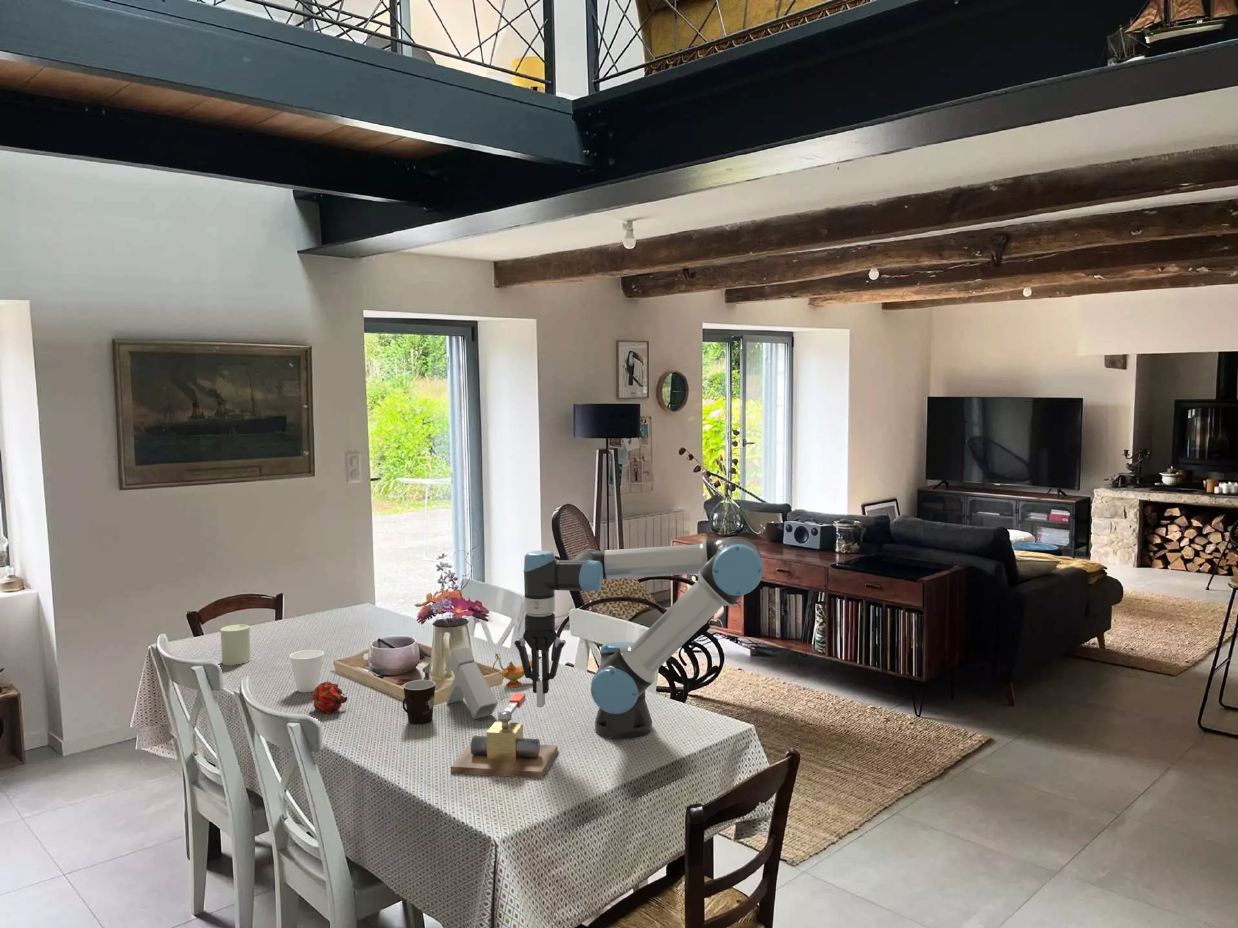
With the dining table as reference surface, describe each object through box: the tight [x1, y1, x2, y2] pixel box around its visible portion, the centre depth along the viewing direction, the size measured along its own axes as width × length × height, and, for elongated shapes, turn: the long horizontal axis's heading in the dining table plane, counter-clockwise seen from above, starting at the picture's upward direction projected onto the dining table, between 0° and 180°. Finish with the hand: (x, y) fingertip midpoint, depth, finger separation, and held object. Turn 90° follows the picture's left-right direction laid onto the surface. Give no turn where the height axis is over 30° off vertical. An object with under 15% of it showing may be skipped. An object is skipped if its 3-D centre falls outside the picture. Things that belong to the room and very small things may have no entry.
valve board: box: [450, 742, 558, 779], centre depth 220 cm, size 22×16×2 cm
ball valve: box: [470, 721, 541, 762], centre depth 220 cm, size 16×7×9 cm, turn 81°
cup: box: [288, 649, 325, 693], centre depth 276 cm, size 10×10×11 cm
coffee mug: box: [402, 679, 436, 726], centre depth 248 cm, size 12×9×10 cm
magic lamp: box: [492, 653, 542, 688], centre depth 280 cm, size 7×18×11 cm, turn 130°
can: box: [219, 623, 252, 666], centre depth 307 cm, size 9×9×12 cm
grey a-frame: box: [444, 647, 498, 720], centre depth 258 cm, size 6×16×20 cm
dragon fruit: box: [310, 681, 348, 714], centre depth 258 cm, size 8×8×12 cm
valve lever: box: [497, 692, 526, 722], centre depth 226 cm, size 16×3×2 cm, turn 171°
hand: (541, 705), depth 230 cm, fingers closed
